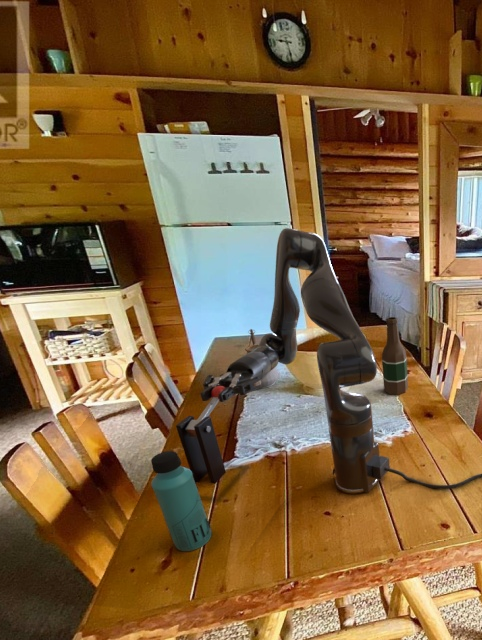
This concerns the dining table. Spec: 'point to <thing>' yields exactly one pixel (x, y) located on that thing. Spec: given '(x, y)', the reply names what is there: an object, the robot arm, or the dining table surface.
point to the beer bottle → (394, 361)
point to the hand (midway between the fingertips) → (212, 397)
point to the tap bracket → (202, 450)
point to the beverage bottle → (180, 502)
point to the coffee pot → (272, 375)
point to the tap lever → (205, 410)
